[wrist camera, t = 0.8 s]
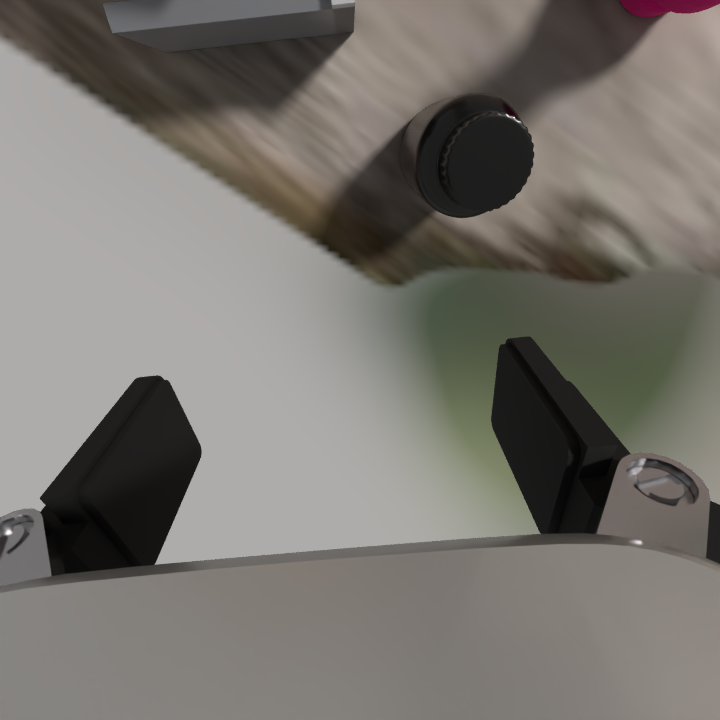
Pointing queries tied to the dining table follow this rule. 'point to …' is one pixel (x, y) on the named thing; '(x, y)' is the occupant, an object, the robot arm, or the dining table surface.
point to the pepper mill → (666, 6)
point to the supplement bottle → (467, 154)
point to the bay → (225, 21)
